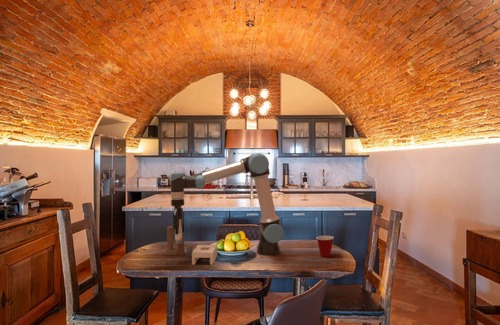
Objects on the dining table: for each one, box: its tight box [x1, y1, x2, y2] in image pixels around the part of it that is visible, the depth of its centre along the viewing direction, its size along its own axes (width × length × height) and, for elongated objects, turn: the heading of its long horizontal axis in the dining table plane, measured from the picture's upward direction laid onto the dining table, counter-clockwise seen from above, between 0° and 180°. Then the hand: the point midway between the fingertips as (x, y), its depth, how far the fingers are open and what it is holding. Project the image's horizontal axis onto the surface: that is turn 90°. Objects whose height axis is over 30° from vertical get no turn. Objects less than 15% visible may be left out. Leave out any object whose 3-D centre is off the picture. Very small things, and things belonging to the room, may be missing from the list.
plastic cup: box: [315, 235, 334, 258], centre depth 199 cm, size 11×11×12 cm
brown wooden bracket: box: [165, 225, 185, 257], centre depth 203 cm, size 4×11×18 cm, turn 85°
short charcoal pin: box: [186, 244, 194, 258], centre depth 200 cm, size 4×4×7 cm
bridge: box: [191, 244, 218, 266], centre depth 192 cm, size 12×16×7 cm
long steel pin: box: [174, 219, 182, 245], centre depth 188 cm, size 4×4×14 cm
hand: (178, 238), depth 188 cm, fingers closed on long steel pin, 3 cm apart
